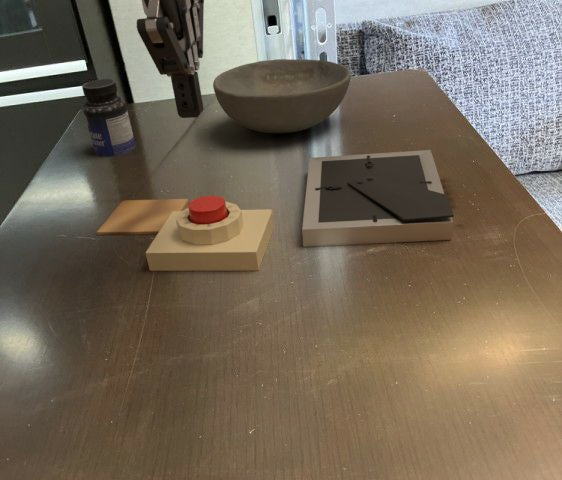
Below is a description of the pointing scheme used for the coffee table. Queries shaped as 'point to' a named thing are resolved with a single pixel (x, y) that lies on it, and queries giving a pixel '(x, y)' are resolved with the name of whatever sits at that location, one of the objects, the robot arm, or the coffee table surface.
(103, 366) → the coffee table surface
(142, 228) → the coaster
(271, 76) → the bowl
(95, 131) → the pill bottle
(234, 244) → the desk block
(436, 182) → the picture frame
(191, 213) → the button
